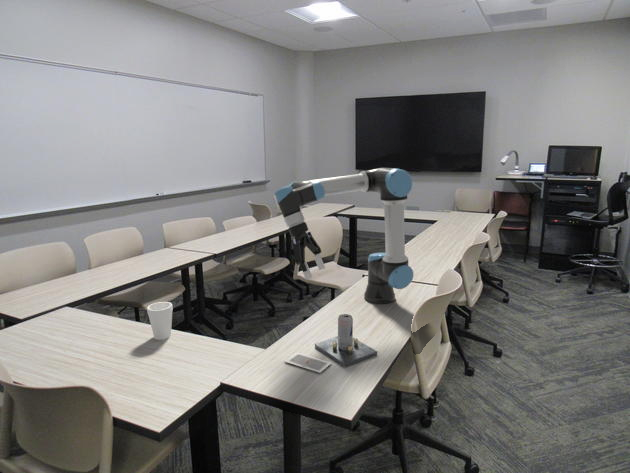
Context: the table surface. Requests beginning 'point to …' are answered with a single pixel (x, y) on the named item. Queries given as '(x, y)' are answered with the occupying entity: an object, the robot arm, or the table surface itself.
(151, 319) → the foam cup
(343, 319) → the energy drink
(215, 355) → the table surface
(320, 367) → the touchpad
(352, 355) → the standoff plate
